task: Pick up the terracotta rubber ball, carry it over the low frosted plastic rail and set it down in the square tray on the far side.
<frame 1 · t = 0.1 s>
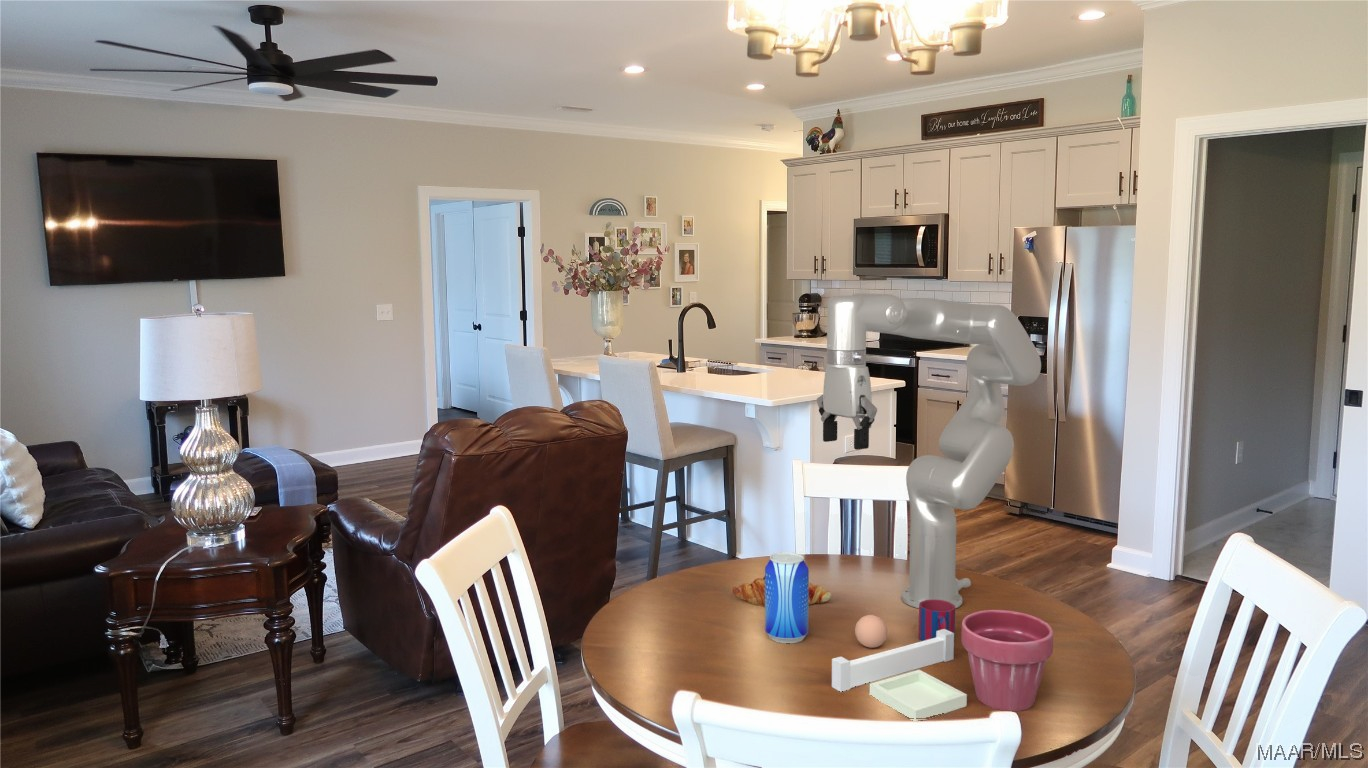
hand: (845, 444, 180), 37 cm above the table, tool pointing down, fingers open, 9 cm apart
square tray: (917, 700, 151), on the table
croissant: (781, 604, 197), on the table
mug: (937, 643, 174), on the table
ball: (871, 646, 173), on the table
beer can: (786, 637, 178), on the table
plant pot: (1004, 700, 151), on the table
rail: (894, 672, 162), on the table
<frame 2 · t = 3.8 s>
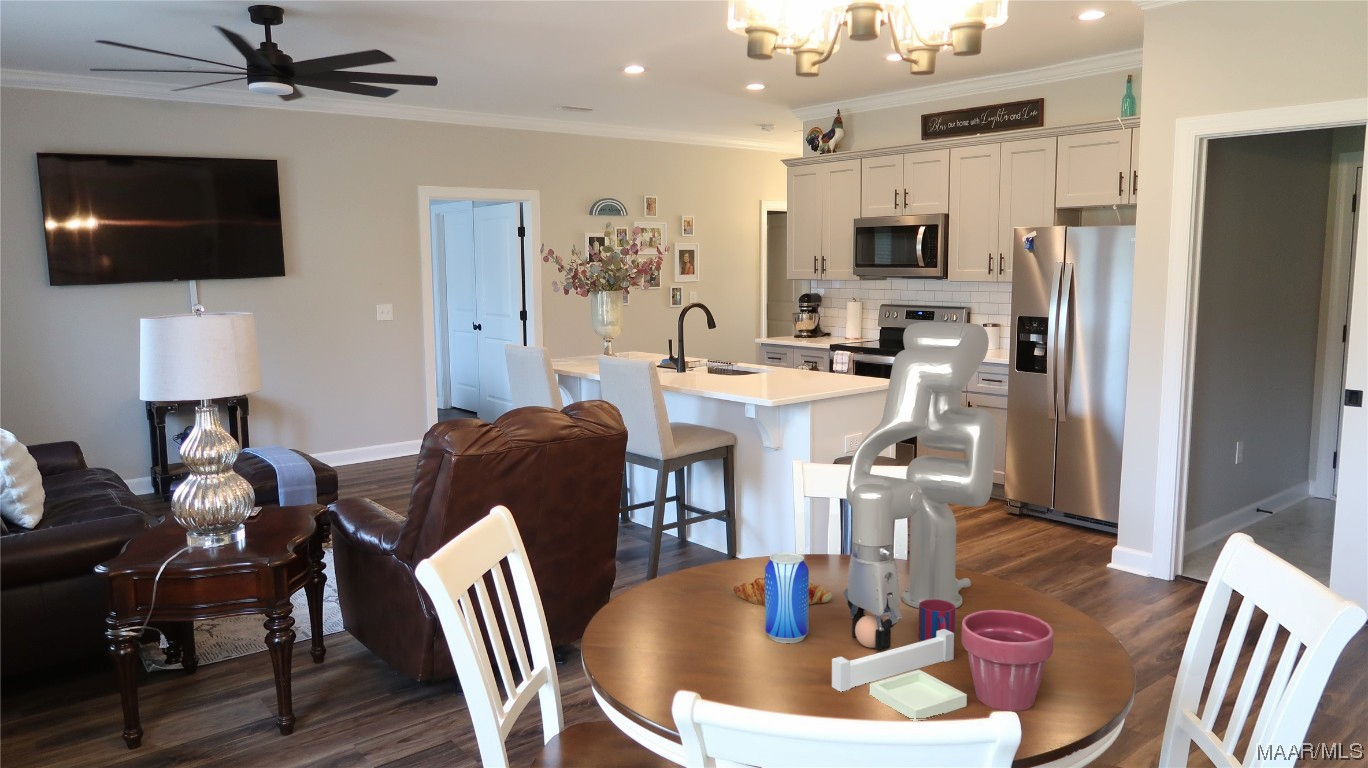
hand: (871, 641, 173), 1 cm above the table, tool pointing down, fingers closed on ball, 6 cm apart
ball: (871, 646, 173), on the table, touching gripper
everything else where it was.
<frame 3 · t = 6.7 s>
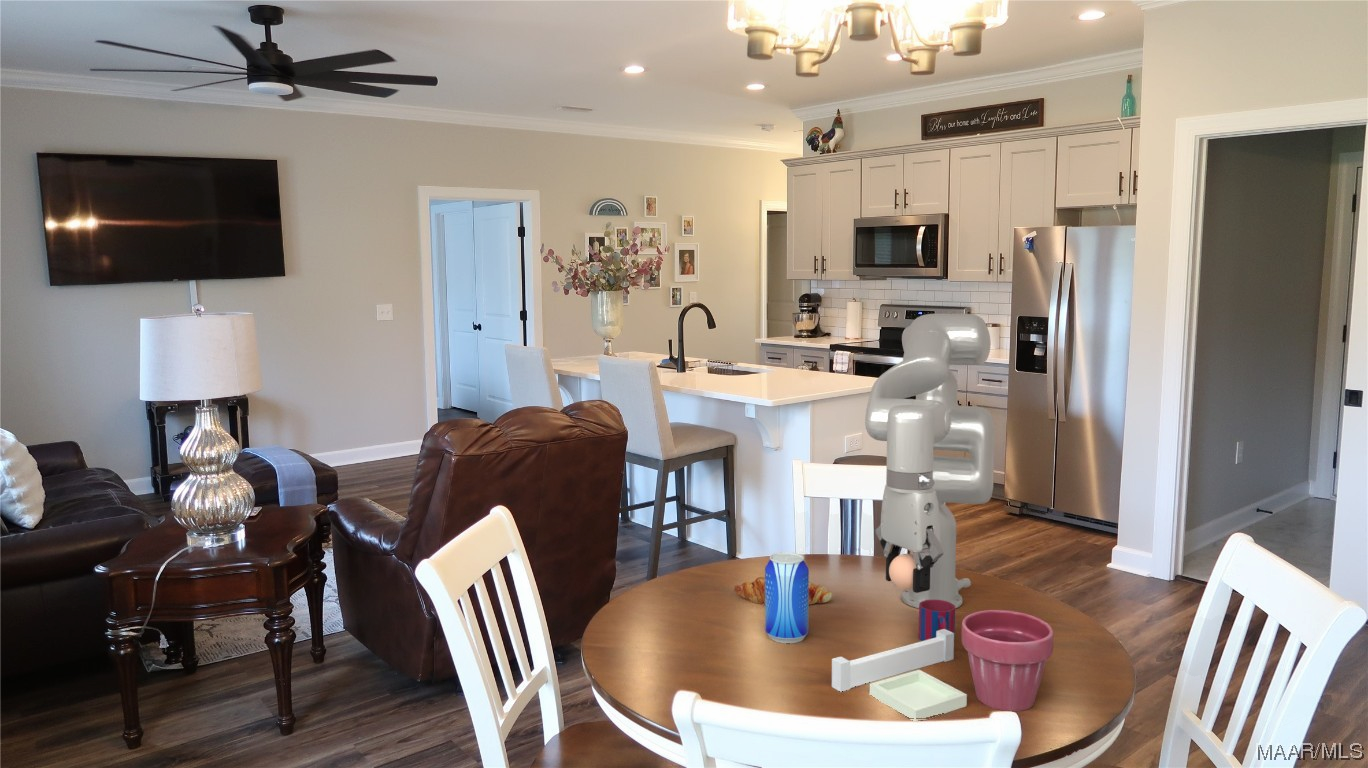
hand: (907, 584, 153), 18 cm above the table, tool pointing down, fingers closed on ball, 5 cm apart
ball: (906, 589, 153), point 18 cm above the table, touching gripper
everything else where it was.
when the fingers open (2 cm above the table, at t = 10.8 s): ball drops 1 cm, resting on square tray.
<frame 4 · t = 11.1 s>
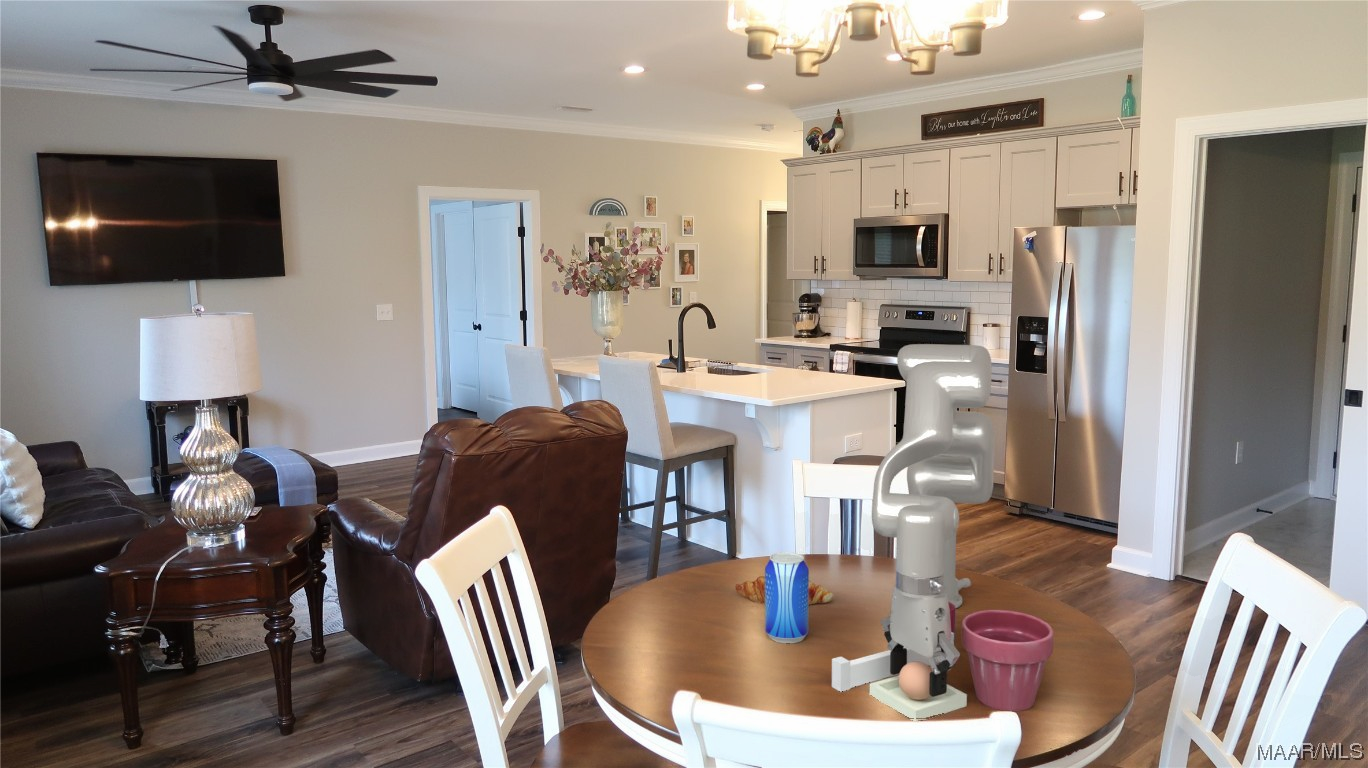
hand: (917, 683, 151), 3 cm above the table, tool pointing down, fingers open, 8 cm apart
ball: (917, 697, 151), resting on square tray
everything else where it was.
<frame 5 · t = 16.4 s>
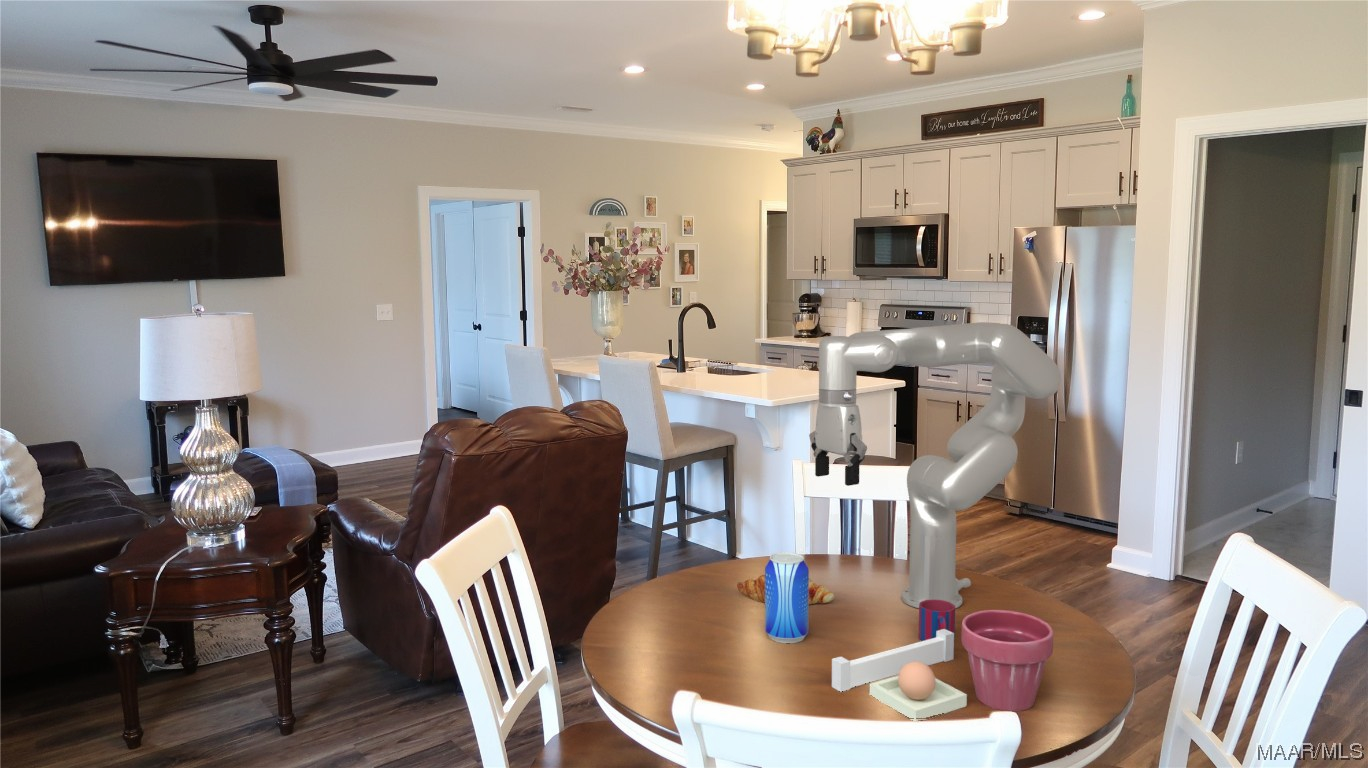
hand: (836, 480, 187), 28 cm above the table, tool pointing down, fingers open, 9 cm apart
at the end: ball inside the target area on the square tray (0.0 cm from its centre), point 0.5 cm above the square tray's base; the gripper is holding nothing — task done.
